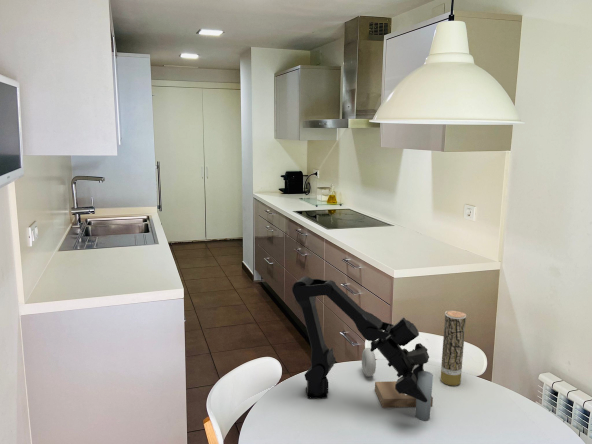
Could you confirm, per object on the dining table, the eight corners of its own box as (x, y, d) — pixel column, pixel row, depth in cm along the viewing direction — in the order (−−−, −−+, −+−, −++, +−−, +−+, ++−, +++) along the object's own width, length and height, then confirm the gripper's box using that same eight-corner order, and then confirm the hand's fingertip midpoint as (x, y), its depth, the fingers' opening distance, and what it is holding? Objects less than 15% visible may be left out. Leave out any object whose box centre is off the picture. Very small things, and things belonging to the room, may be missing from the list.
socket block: (382, 407, 156) (383, 399, 155) (374, 389, 167) (375, 381, 166) (432, 406, 157) (432, 397, 156) (421, 388, 168) (421, 380, 167)
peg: (417, 421, 149) (420, 378, 146) (413, 413, 153) (416, 371, 151) (432, 420, 149) (435, 377, 147) (427, 412, 154) (430, 370, 151)
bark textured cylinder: (461, 387, 169) (467, 318, 165) (441, 385, 170) (446, 316, 166) (459, 378, 176) (464, 311, 171) (439, 376, 177) (444, 309, 173)
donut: (376, 381, 172) (377, 355, 170) (366, 382, 172) (367, 355, 170) (369, 368, 182) (370, 342, 180) (360, 368, 182) (361, 343, 180)
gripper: (408, 351, 140) (446, 395, 138) (418, 328, 157) (451, 366, 155) (379, 372, 144) (416, 415, 142) (392, 347, 161) (424, 385, 159)
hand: (428, 394), depth 149 cm, fingers open, 9 cm apart
